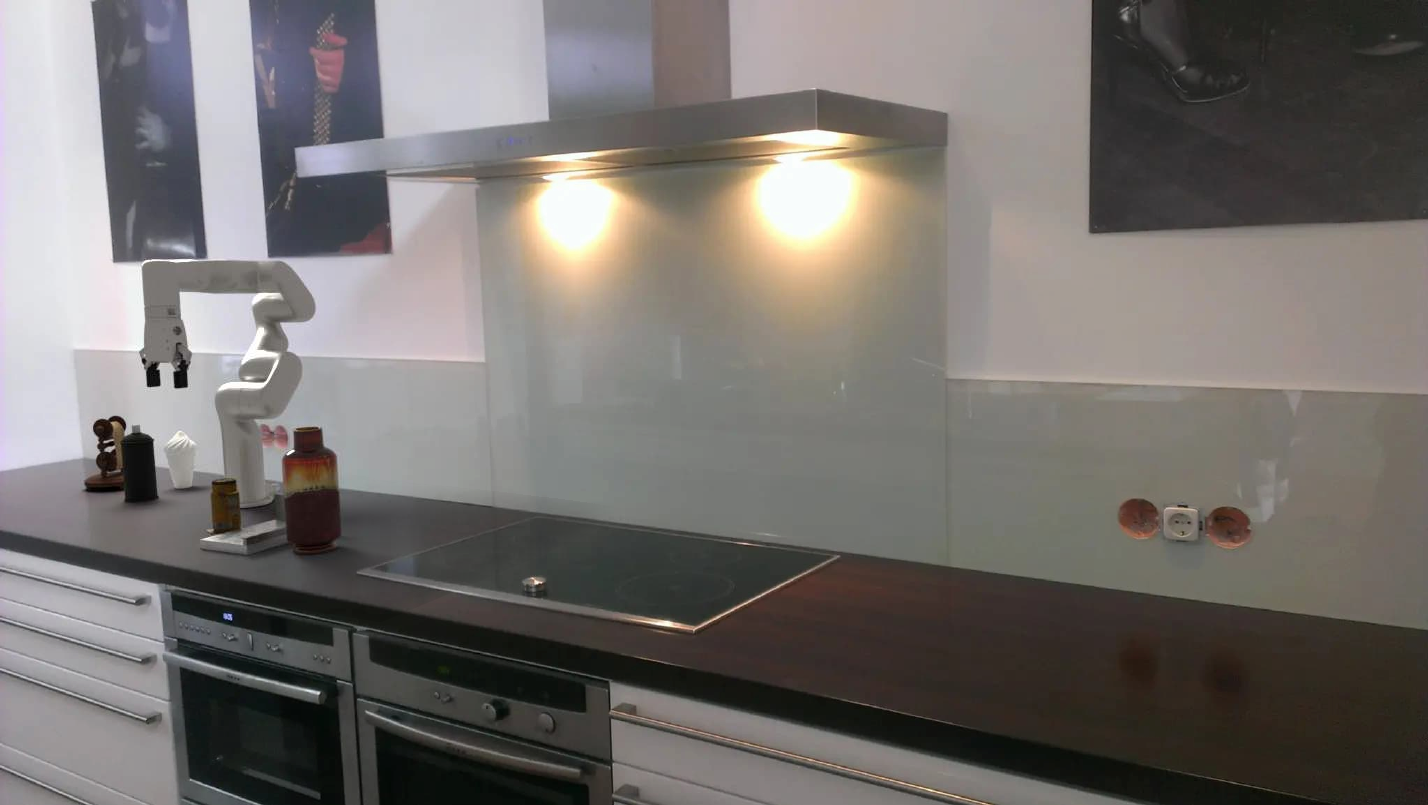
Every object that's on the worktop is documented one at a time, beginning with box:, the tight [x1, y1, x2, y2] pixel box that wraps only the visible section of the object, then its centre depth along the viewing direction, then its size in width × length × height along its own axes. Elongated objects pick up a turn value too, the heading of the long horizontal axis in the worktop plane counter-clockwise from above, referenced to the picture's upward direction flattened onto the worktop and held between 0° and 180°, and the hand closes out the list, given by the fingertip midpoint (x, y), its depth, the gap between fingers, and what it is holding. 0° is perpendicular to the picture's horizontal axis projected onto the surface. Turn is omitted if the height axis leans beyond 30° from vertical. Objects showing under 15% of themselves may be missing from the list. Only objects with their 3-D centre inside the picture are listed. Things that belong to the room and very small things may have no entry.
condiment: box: [206, 477, 243, 536], centre depth 251 cm, size 7×8×12 cm
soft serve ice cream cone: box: [163, 430, 198, 490], centre depth 305 cm, size 8×8×16 cm
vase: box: [281, 426, 342, 555], centre depth 232 cm, size 11×11×26 cm
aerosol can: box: [119, 423, 160, 503], centre depth 289 cm, size 8×8×20 cm
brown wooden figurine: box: [83, 415, 127, 491], centre depth 307 cm, size 15×15×20 cm
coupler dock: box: [199, 492, 290, 556], centre depth 242 cm, size 22×14×8 cm, turn 155°
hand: (167, 387), depth 254 cm, fingers open, 9 cm apart
